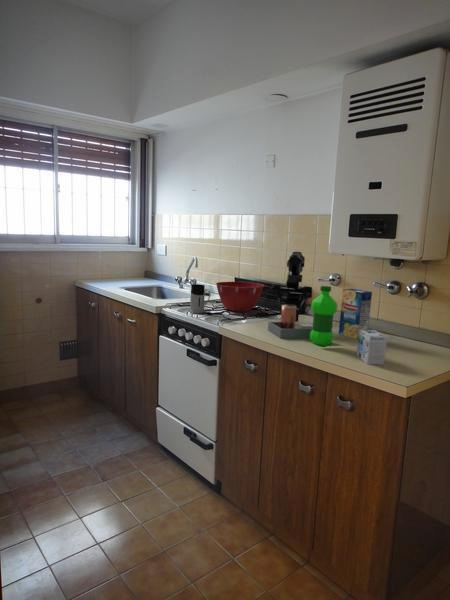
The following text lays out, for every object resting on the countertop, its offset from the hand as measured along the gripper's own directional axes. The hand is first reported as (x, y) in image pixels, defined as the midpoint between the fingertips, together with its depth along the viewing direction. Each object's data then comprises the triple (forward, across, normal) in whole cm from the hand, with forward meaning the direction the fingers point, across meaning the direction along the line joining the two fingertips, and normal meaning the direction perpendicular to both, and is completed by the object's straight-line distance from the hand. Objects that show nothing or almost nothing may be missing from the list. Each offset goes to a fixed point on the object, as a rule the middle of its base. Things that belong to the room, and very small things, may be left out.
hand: (290, 305), depth 196 cm
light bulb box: (+32, +33, -14) cm, 48 cm away
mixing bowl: (-24, -33, +44) cm, 60 cm away
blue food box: (+8, +29, +11) cm, 32 cm away
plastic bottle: (+22, +15, -3) cm, 26 cm away
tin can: (+13, 0, +4) cm, 14 cm away
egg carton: (+11, +8, +6) cm, 15 cm away
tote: (+13, +3, +5) cm, 14 cm away
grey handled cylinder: (-11, -51, +30) cm, 61 cm away
